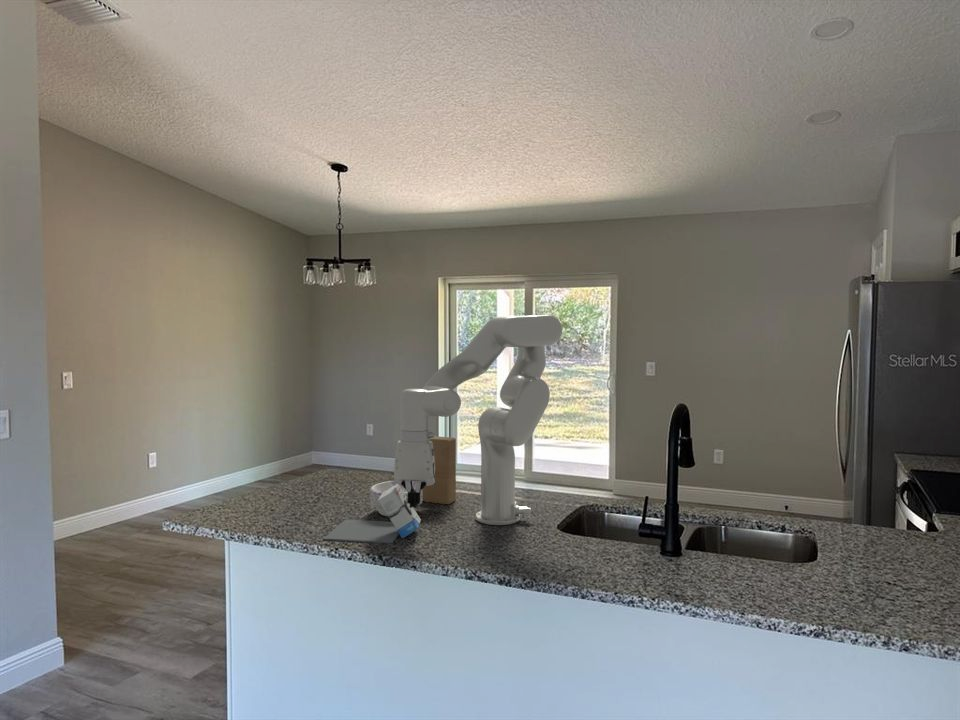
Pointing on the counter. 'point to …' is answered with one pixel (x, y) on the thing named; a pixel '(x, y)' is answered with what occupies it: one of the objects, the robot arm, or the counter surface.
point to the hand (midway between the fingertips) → (413, 506)
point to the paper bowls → (381, 487)
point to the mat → (364, 532)
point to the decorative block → (443, 472)
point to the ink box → (399, 510)
